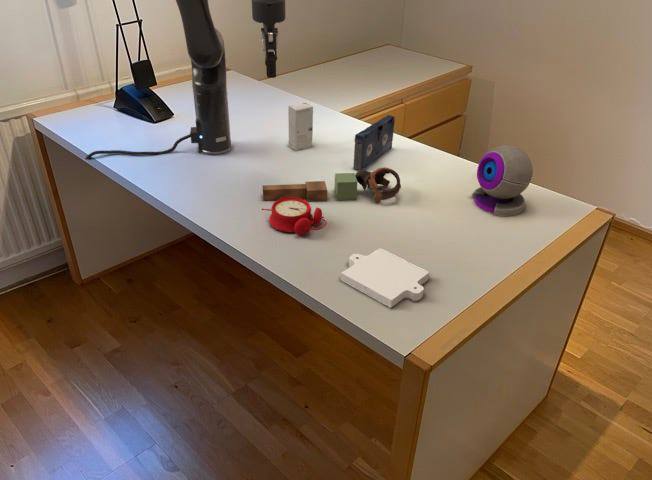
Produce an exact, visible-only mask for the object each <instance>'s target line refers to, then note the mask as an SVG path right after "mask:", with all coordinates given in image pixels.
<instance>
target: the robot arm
mask: <svg viewBox="0 0 652 480" xmlns="http://www.w3.org/2000/svg"><path fill="white" fill-rule="evenodd" d="M175 3H176V5H177V9H178V11H179V14H180V17H181V23H182V27H183V32H184V33H183V34H184V38H185V44H186V51H187V54H188V57H189V59H190V64H191V85H192V95H193V102H194V111H195V126H191V127H190V132H189V133H188V134H187V135H185V136H182V137H180V138H179V139H176V141H175V142H174V143H173V145H172V147H170V148H168V149H166V150H162V151H131V150H120V149H119V150H118V149H115V150H114V149H111V150H94V151H92V152H90V153H89V154H87V155H86V157H85V158H84V159H85V160H90V159H91V158H92V157H93V156H95V155H112V154H113V155H115V154H117V155H118V154H122V155H133V156H157V155H165V154H169V153H172V152H173V151H175V150H176V149H177V147H178V145H179V144H180V143H181V142H184V141H185V140H187V139H190V143H191V144H197V148H198V154H199V153H200V154H206V155H223V154H226V153H228V152H230V151H231V150H232V145H233V144H232V139H231V138H232V137H231V125H230V124H231V123H230V112H229V100H228V87H227V84H228V83H227V65H226V50H225V49H226V48H225V41H224V38H223V35H222V33H221V32H220V30H218V28H217V27H216V26H215V24H214V21H213V18H212V15H211V10H210V5H209V0H175ZM251 13H252V14H251V17H252V20H253V21H254V22H256V23H258V24H262V27H260V37H261V44H262V51H263V53H264V65H265V67H266V68H265V69H266V78H267V79H274V78H277V60H278V55H277V52H278V51H279V41H278V40H279V29H278V27H276V26H275V25H276V24H280V23H283V22H285V20H286V18H287V17H286V0H251Z"/></svg>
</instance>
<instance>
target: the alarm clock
mask: <svg viewBox="0 0 652 480" xmlns="http://www.w3.org/2000/svg"><path fill="white" fill-rule="evenodd" d="M261 211H268V212H269V211H270V212H271V214H270V216H269V218H268V219H269V220H268V222H269V225H270V226H271V227H272V228H273V229H275V230H278V231H280V232H285V233H295V234H296V235H298V236H305V235H307V234H308V233H309V232H310V230H311V231H318V230H321V229H322V228H324V227H326V225H327V224H328V223H327V220H325V219H324V216H323V210H322V208H321V207H316V208H315V209H314V212H313V215H312V207H311V204H310V203H309V201H307V200H306V199H300V198H293V197H289V198H282V197H281V199H279V200H274V202H273V203H272V205H271V208H264V207H262V208H261ZM322 221H324V222H325V223H324V224H323V225H322V226H321V227H318V228H311V227H312V225H313V226H314V227H317V226H319V225H320V224H321V222H322Z"/></svg>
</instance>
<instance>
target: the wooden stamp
mask: <svg viewBox="0 0 652 480" xmlns="http://www.w3.org/2000/svg"><path fill="white" fill-rule="evenodd" d="M261 186H262V201H277V200H279V199H281V197H282V198H289V197H293V198H300V199H303V200H306V201H307V202H316V201H319V202H320V201H327V200H328V188H327V184H326V181H325V180H314V181H305V182H304V183H295V184H294V183H293V184H292V183H291V184H289V183H288V184H267V185H264V184H263V185H261Z"/></svg>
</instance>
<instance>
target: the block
mask: <svg viewBox="0 0 652 480" xmlns="http://www.w3.org/2000/svg"><path fill="white" fill-rule="evenodd" d="M355 174H356V173H355V172H339V173H337V172H336V173H334V187H333V190H334V191H333V192H334V195H335V199H336V201H353V200H357V197H358V182H357V179H356V176H355Z"/></svg>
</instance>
